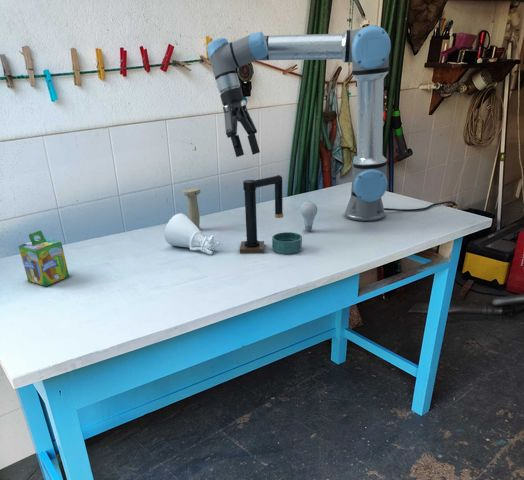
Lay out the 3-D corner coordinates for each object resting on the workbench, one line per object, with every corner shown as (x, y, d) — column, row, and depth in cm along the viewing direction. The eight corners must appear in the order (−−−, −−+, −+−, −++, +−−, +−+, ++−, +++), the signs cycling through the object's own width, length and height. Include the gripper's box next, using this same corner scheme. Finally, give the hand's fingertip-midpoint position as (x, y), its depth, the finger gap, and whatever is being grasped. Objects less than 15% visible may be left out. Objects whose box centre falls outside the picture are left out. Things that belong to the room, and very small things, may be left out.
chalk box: (46, 287, 157) (33, 239, 149) (26, 281, 161) (13, 235, 153) (70, 276, 163) (59, 230, 156) (51, 271, 168) (40, 226, 160)
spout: (250, 226, 173) (248, 183, 166) (242, 224, 176) (240, 181, 168) (286, 217, 181) (285, 175, 174) (278, 214, 184) (277, 173, 176)
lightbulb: (298, 233, 193) (298, 203, 187) (303, 228, 198) (303, 199, 192) (313, 234, 191) (314, 204, 185) (318, 229, 196) (319, 200, 190)
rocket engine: (219, 226, 171) (178, 206, 178) (200, 254, 170) (159, 234, 177) (230, 243, 182) (191, 224, 189) (212, 270, 181) (174, 250, 187)
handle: (205, 229, 200) (202, 189, 192) (192, 233, 196) (188, 192, 189) (198, 226, 203) (194, 187, 195) (184, 230, 200) (180, 190, 192)
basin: (301, 244, 183) (301, 232, 180) (302, 254, 174) (302, 241, 172) (272, 244, 183) (272, 232, 181) (272, 255, 174) (271, 242, 172)
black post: (264, 245, 183) (262, 187, 173) (263, 253, 176) (261, 193, 166) (241, 245, 184) (238, 187, 173) (239, 253, 177) (236, 193, 166)
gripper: (236, 95, 189) (253, 155, 195) (203, 93, 168) (223, 160, 174) (254, 88, 186) (271, 149, 192) (222, 84, 165) (242, 153, 171)
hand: (248, 154), depth 183 cm, fingers open, 13 cm apart
